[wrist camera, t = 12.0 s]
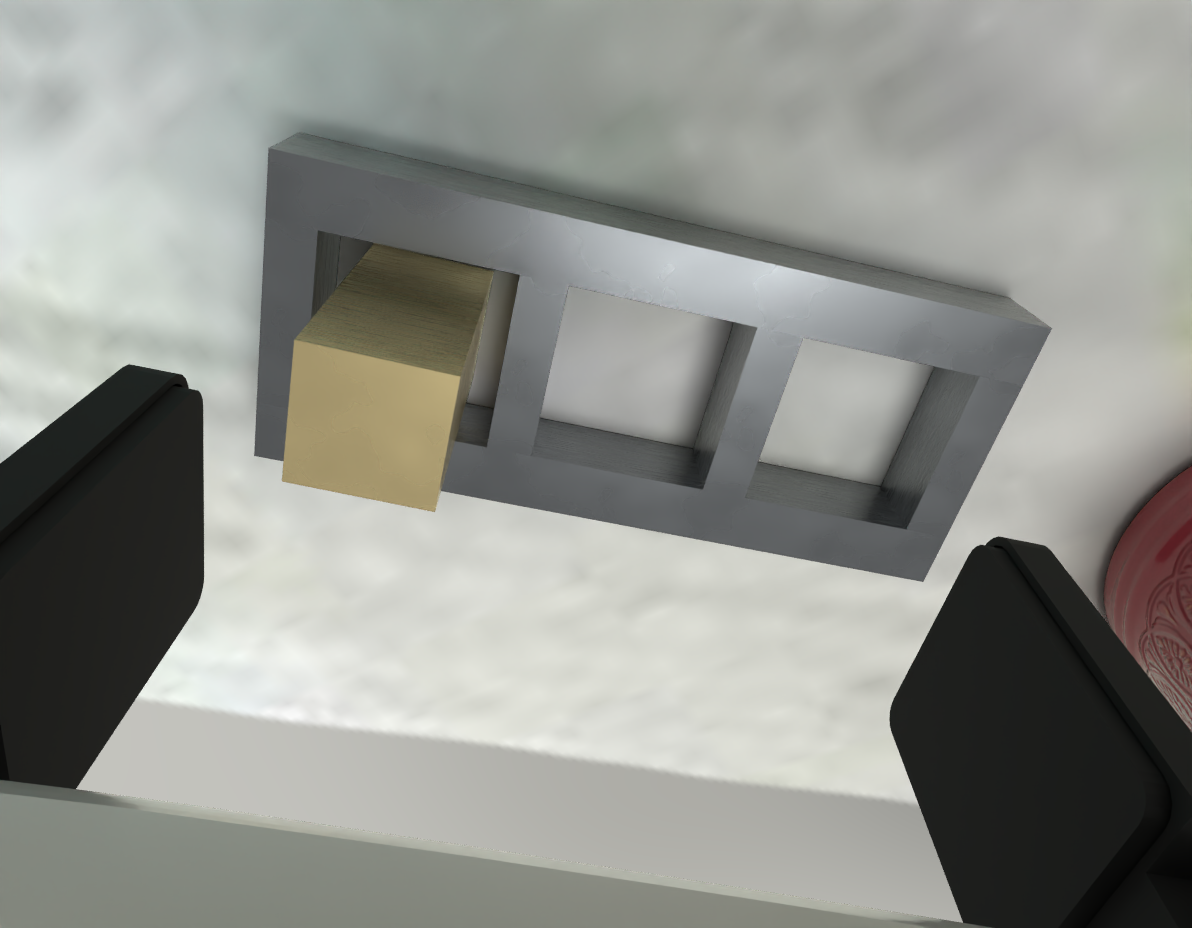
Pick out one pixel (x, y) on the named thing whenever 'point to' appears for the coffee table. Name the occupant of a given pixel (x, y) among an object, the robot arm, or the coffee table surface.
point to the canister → (1157, 592)
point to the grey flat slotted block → (675, 280)
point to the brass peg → (385, 378)
